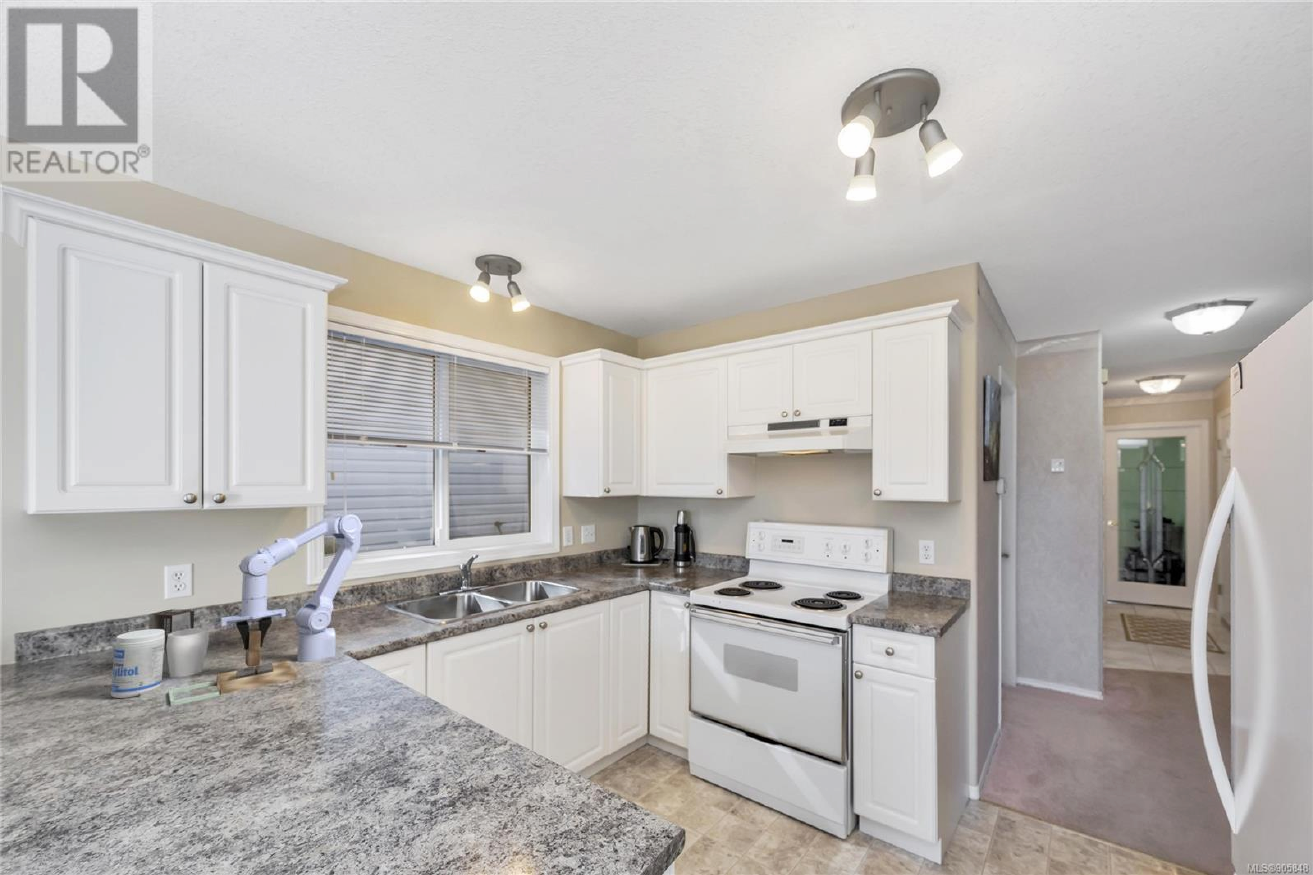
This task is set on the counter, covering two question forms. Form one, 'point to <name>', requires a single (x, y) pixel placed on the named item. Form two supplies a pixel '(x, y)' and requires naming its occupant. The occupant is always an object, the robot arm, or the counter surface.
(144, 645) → the supplement tub
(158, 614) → the coffee box
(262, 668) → the grey cube
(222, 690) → the slot board
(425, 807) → the counter surface
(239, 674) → the dark grey cube
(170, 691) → the tray
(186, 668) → the cup
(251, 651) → the brown wooden block
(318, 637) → the robot arm
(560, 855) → the counter surface
